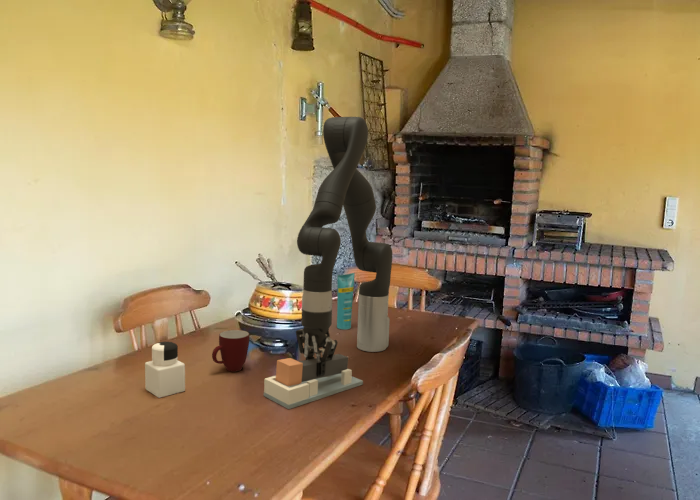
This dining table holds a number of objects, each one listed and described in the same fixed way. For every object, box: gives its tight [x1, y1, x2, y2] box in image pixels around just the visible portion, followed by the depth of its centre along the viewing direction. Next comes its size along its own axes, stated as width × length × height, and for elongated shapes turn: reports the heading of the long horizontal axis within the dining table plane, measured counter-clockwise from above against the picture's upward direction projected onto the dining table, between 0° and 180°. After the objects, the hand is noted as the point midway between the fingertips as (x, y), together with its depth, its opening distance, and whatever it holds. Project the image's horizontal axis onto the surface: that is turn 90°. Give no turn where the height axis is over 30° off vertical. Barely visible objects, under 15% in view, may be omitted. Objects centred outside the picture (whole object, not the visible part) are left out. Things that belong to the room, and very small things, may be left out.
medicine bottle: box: [144, 341, 186, 399], centre depth 146 cm, size 7×7×12 cm
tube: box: [336, 272, 356, 330], centre depth 205 cm, size 7×5×19 cm, turn 134°
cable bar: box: [275, 353, 349, 386], centre depth 149 cm, size 20×5×5 cm, turn 134°
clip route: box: [263, 368, 364, 410], centre depth 150 cm, size 24×10×4 cm, turn 134°
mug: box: [211, 329, 250, 373], centre depth 161 cm, size 10×8×10 cm
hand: (315, 373), depth 150 cm, fingers closed on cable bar, 3 cm apart
